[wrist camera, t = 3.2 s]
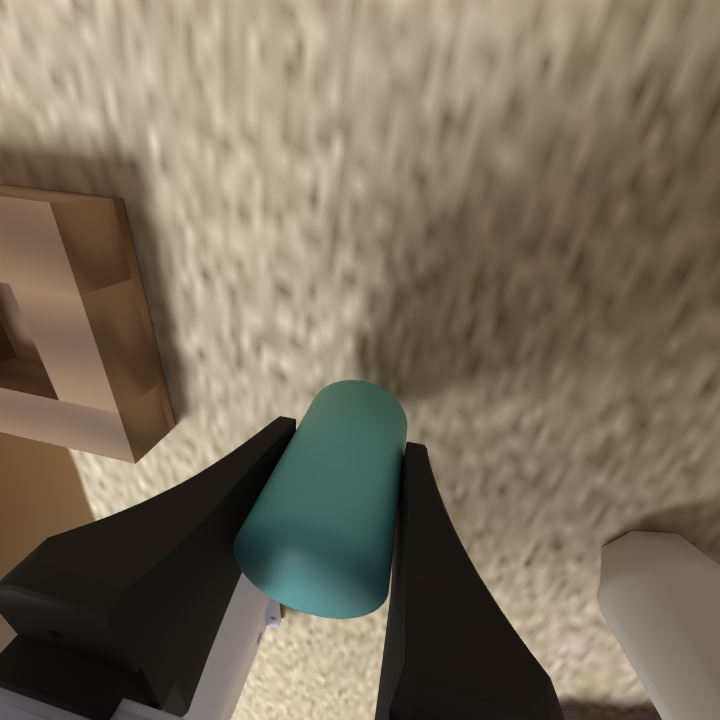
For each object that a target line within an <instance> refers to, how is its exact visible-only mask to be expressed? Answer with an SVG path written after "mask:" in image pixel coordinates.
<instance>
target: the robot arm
mask: <svg viewBox="0 0 720 720" xmlns="http://www.w3.org/2000/svg"><path fill="white" fill-rule="evenodd" d="M295 432H296V419H292V418H287V417H282V416H280V417H278V418H277V419H275V420H274V421H273V422H271V423H270V424H269V425H268V426H266V427H265V428H264V429H262V430H261V431H260V432H258V433H257V434H256V435H254V436H253V437H252V438H250V439H249V440H248V441H246V442H245V443H244V444H242V445H241V446H239V447H238V448H237V449H235V450H234V451H233V452H231V453H230V454H228V455H227V456H225V457H224V458H222V459H221V460H219V461H218V462H216V463H215V464H213V465H211V466H210V467H208V468H207V469H205V470H203V471H202V472H200V473H198V474H197V475H195V476H193V477H192V478H190V479H188V480H186V481H184V482H183V483H181V484H179V485H177V486H175V487H173V488H171V489H169V490H167V491H165V492H163V493H161V494H159V495H157V496H154V497H152V498H150V499H148V500H146V501H144V502H142V503H140V504H137V505H135V506H133V507H130V508H128V509H126V510H123V511H121V512H118V513H116V514H113V515H111V516H108V517H106V518H103V519H101V520H98V521H95V522H93V523H90V524H87V525H84V526H81V527H78V528H75V529H72V530H70V531H67V532H64V533H61V534H58V535H55V536H52V537H49V538H47V539H46V540H45V541H44V542H42V543H41V544H40V545H39V546H38V547H37V548H36V549H35V550H34V551H32V552H31V553H30V554H29V555H28V556H27V557H26V558H25V559H24V560H23V561H21V563H19V564H18V565H17V566H16V567H15V568H14V569H13V570H12V571H10V572H9V573H8V574H7V575H6V576H5V577H4V578H3V579H2V580H1V581H0V614H1V615H2V616H3V617H4V618H5V619H6V621H7V622H8V623H9V624H10V626H11V627H12V628H13V629H14V630H15V631H16V633H17V634H18V635H17V636H16V637H15V638H14V639H13V640H12V641H11V642H10V644H9V645H8V646H7V647H6V648H5V649H4V650H3V651H2V652H1V653H0V720H230V719H231V717H232V715H233V713H234V710H235V708H236V705H237V702H238V700H239V697H240V695H241V692H242V689H243V687H244V684H245V682H246V679H247V676H248V674H249V671H250V668H251V666H252V663H253V661H254V658H255V655H256V653H257V650H258V648H259V645H260V642H261V640H262V637H263V634H264V632H265V629H266V627H267V625H268V626H272V627H279V625H280V622H281V614H280V603H279V602H278V601H276V600H274V599H272V598H271V597H269V596H268V595H266V594H265V593H263V592H262V591H261V590H259V589H258V588H257V587H256V586H255V585H253V584H252V583H251V582H250V581H249V579H248V578H247V577H246V576H245V575H244V574H243V572H242V571H241V569H240V567H239V566H238V564H237V561H236V559H235V555H234V541H235V539H236V536H237V534H238V533H239V531H240V529H241V527H242V526H243V524H244V522H245V520H246V518H247V517H248V515H249V513H250V511H251V510H252V508H253V506H254V504H255V503H256V501H257V499H258V497H259V495H260V494H261V492H262V490H263V488H264V487H265V485H266V483H267V481H268V480H269V478H270V476H271V474H272V472H273V471H274V469H275V467H276V465H277V464H278V462H279V460H280V458H281V457H282V455H283V453H284V451H285V449H286V448H287V446H288V444H289V442H290V441H291V439H292V437H293V435H294V434H295ZM375 720H565V719H564V715H563V712H562V709H561V706H560V703H559V701H558V698H557V695H556V692H555V689H554V687H553V684H552V681H551V679H550V677H549V675H548V674H547V673H546V672H545V670H544V669H543V668H542V666H541V665H540V664H539V662H538V661H537V660H536V658H535V657H534V656H533V654H532V653H531V652H530V650H529V649H528V648H527V646H526V645H525V644H524V642H523V641H522V639H521V638H520V637H519V635H518V634H517V633H516V631H515V630H514V628H513V627H512V625H511V624H510V622H509V621H508V620H507V618H506V617H505V615H504V614H503V612H502V611H501V609H500V608H499V606H498V605H497V603H496V601H495V600H494V598H493V597H492V595H491V593H490V592H489V590H488V589H487V587H486V585H485V584H484V582H483V581H482V579H481V578H480V576H479V574H478V573H477V571H476V569H475V567H474V565H473V564H472V562H471V560H470V558H469V557H468V555H467V553H466V551H465V549H464V547H463V545H462V543H461V541H460V539H459V537H458V535H457V533H456V531H455V529H454V527H453V525H452V522H451V520H450V518H449V516H448V513H447V511H446V508H445V506H444V504H443V501H442V498H441V496H440V493H439V490H438V487H437V485H436V482H435V479H434V476H433V472H432V469H431V465H430V461H429V457H428V452H427V448H426V447H425V445H422V444H417V443H412V442H407V443H406V448H405V453H404V459H403V468H402V476H401V487H400V496H399V505H398V514H397V522H396V531H395V540H394V548H393V563H392V583H391V595H390V603H389V611H388V620H387V628H386V636H385V644H384V652H383V660H382V667H381V675H380V683H379V691H378V698H377V706H376V714H375Z"/></svg>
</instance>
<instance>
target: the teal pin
mask: <svg viewBox="0 0 720 720" xmlns="http://www.w3.org/2000/svg"><path fill="white" fill-rule="evenodd" d="M406 435H407V419H406V415H405V413H404V411H403V409H402V407H401V405H400V404H399V403H398V401H397V400H396V399H395V398H394V397H393V396H392V395H391V394H389V393H388V392H387V391H385V390H384V389H382V388H380V387H378V386H376V385H374V384H371V383H368V382H364V381H357V380H346V381H340V382H336V383H333V384H330V385H328V386H327V387H325V388H324V389H322V390H321V391H320V392H319V393H318V394H317V395H316V397H315V398H314V400H313V402H312V403H311V405H310V407H309V409H308V411H307V412H306V414H305V416H304V418H303V419H302V421H301V423H300V425H299V426H298V428H297V430H296V432H295V434H294V435H293V437H292V439H291V441H290V442H289V444H288V446H287V448H286V449H285V451H284V453H283V455H282V457H281V458H280V460H279V462H278V464H277V465H276V467H275V469H274V471H273V472H272V474H271V476H270V478H269V480H268V481H267V483H266V485H265V487H264V488H263V490H262V492H261V494H260V495H259V497H258V499H257V501H256V503H255V504H254V506H253V508H252V510H251V511H250V513H249V515H248V517H247V518H246V520H245V522H244V524H243V526H242V527H241V529H240V531H239V533H238V534H237V536H236V539H235V541H234V555H235V559H236V561H237V564H238V566H239V567H240V569H241V571H242V572H243V574H244V575H245V576H246V577H247V578H248V579H249V581H250V582H251V583H252V584H253V585H255V586H256V587H257V588H258V589H259V590H261V591H262V592H263V593H265V594H266V595H268V596H269V597H271V598H272V599H274V600H276V601H278V602H279V603H281V604H283V605H286V606H288V607H290V608H292V609H295V610H298V611H300V612H304V613H307V614H311V615H315V616H320V617H325V618H336V619H346V618H355V617H361V616H364V615H367V614H369V613H372V612H374V611H375V610H377V609H378V608H379V607H380V606H381V605H382V604H383V603H384V602H385V600H386V598H387V596H388V592H389V583H390V574H391V566H392V557H393V548H394V540H395V531H396V522H397V514H398V505H399V496H400V487H401V476H402V468H403V459H404V453H405V444H406Z"/></svg>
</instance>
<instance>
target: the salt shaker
mask: <svg viewBox="0 0 720 720" xmlns="http://www.w3.org/2000/svg"><path fill="white" fill-rule="evenodd" d="M597 598H598V603H599V608H600V611H601V613H602V615H603V616H604V618H605V620H606V621H607V623H608V625H609V626H610V628H611V630H612V632H613V633H614V635H615V637H616V639H617V640H618V642H619V644H620V646H621V647H622V649H623V651H624V653H625V655H626V656H627V658H628V660H629V662H630V663H631V665H632V667H633V669H634V670H635V672H636V674H637V676H638V677H639V679H640V681H641V683H642V684H643V686H644V688H645V690H646V691H647V693H648V695H649V697H650V698H651V700H652V702H653V704H654V706H655V707H656V709H657V711H658V713H659V714H660V716H661V718H662V720H720V565H719V564H718V563H716V562H715V561H713V560H712V559H710V558H709V557H708V556H706V555H705V554H704V553H702V552H701V551H700V550H698V549H697V548H696V547H694V546H693V545H692V544H690V543H689V542H688V541H686V540H685V539H684V538H682V537H681V536H680V535H679V534H677V533H663V532H647V531H631V532H629V533H627V534H625V535H623V536H622V537H620V538H618V539H616V540H614V541H612V542H610V543H609V544H607V545H605V546H603V547H602V552H601V577H600V584H599V590H598V597H597Z"/></svg>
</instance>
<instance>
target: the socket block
mask: <svg viewBox="0 0 720 720" xmlns="http://www.w3.org/2000/svg"><path fill="white" fill-rule="evenodd" d="M174 427H175V421H174V417H173V413H172V408H171V404H170V400H169V396H168V391H167V387H166V383H165V378H164V374H163V370H162V365H161V361H160V357H159V353H158V348H157V344H156V340H155V335H154V331H153V327H152V323H151V318H150V314H149V310H148V305H147V301H146V297H145V292H144V288H143V284H142V280H141V275H140V271H139V267H138V262H137V258H136V254H135V250H134V245H133V241H132V237H131V232H130V228H129V224H128V219H127V215H126V211H125V207H124V202H123V199H122V198H114V197H105V196H97V195H88V194H80V193H71V192H63V191H54V190H46V189H38V188H29V187H21V186H12V185H4V184H0V432H4V433H8V434H12V435H16V436H21V437H25V438H29V439H33V440H37V441H42V442H46V443H51V444H54V445H59V446H63V447H67V448H71V449H75V450H80V451H84V452H88V453H92V454H97V455H101V456H105V457H109V458H113V459H118V460H122V461H126V462H130V463H135V464H136V463H137V462H138V461H139V460H140V459H141V458H142V457H143V456H144V455H145V454H146V453H148V452H149V451H150V450H151V449H152V448H153V447H154V446H155V445H156V444H157V443H158V442H159V441H160V440H161V439H163V438H164V437H165V436H166V435H167V434H168V433H169V432H170V431H171V430H172V429H173V428H174Z"/></svg>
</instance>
